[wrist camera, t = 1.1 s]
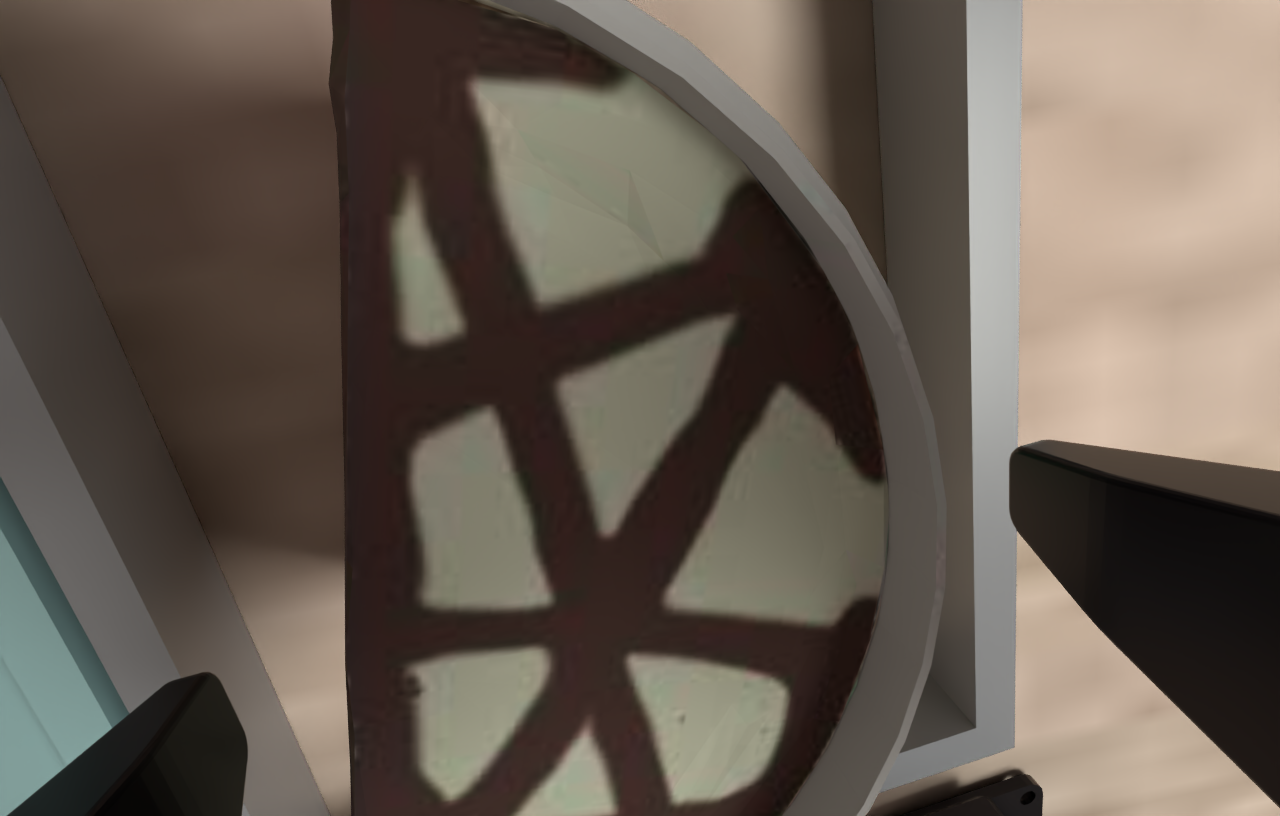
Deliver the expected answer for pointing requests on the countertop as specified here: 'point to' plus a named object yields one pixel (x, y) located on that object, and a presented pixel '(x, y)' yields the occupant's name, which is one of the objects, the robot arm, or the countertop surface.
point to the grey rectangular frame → (917, 278)
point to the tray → (43, 670)
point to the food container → (614, 433)
